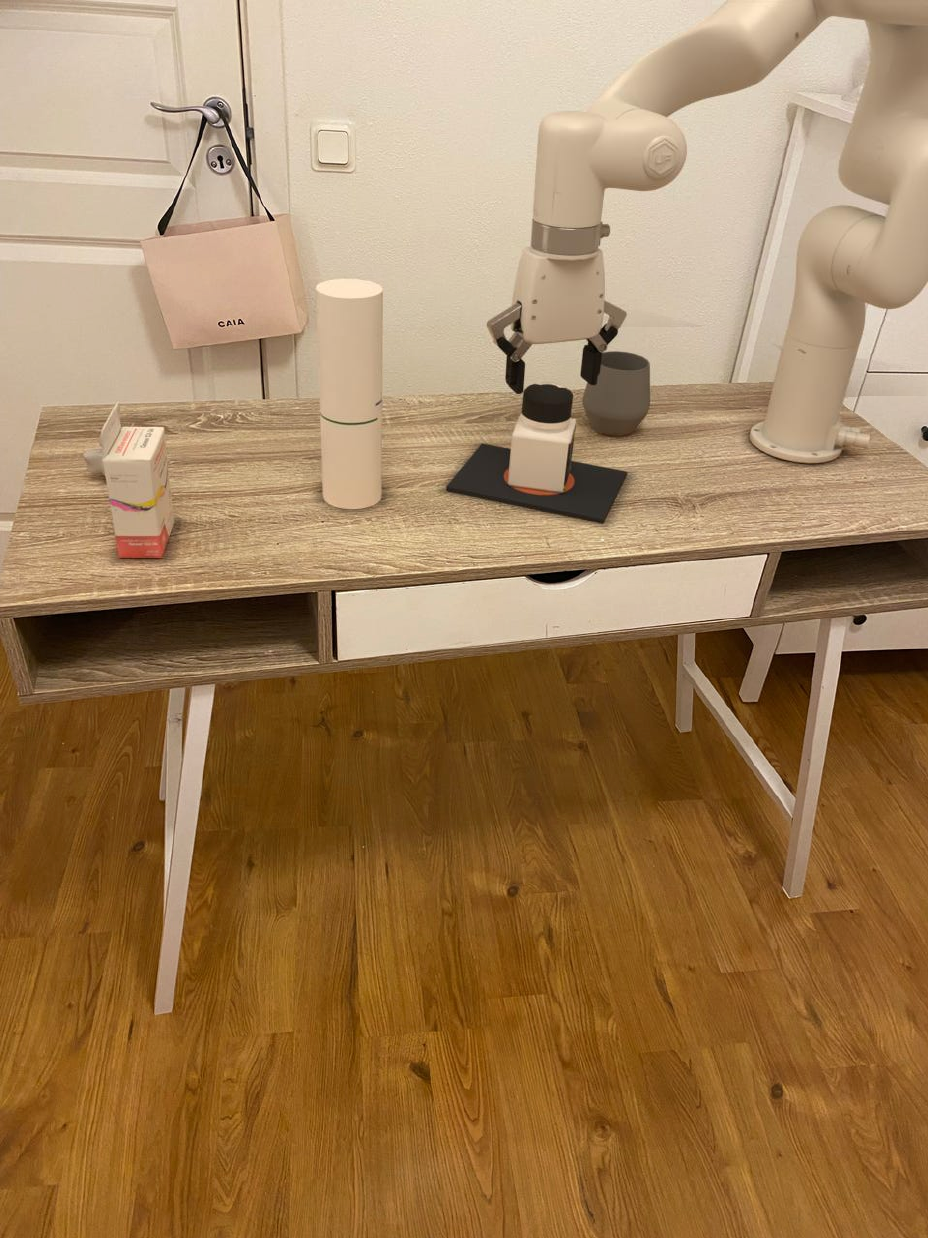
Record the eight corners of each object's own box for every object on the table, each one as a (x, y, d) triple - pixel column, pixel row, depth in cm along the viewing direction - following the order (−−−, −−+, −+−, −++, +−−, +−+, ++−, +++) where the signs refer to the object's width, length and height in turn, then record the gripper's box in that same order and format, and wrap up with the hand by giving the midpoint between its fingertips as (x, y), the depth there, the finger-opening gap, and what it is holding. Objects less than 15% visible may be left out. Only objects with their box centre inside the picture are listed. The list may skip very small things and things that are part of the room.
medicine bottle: (564, 494, 123) (575, 402, 116) (507, 486, 124) (514, 395, 117) (570, 469, 129) (581, 380, 122) (516, 462, 130) (524, 373, 123)
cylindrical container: (390, 488, 124) (392, 284, 109) (367, 513, 118) (366, 302, 104) (337, 477, 125) (333, 275, 111) (312, 502, 120) (304, 291, 106)
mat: (626, 475, 130) (627, 470, 130) (603, 523, 119) (603, 518, 119) (481, 447, 135) (481, 442, 135) (445, 490, 124) (446, 485, 124)
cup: (599, 410, 148) (609, 343, 142) (656, 427, 143) (668, 360, 138) (567, 429, 141) (575, 361, 135) (625, 448, 137) (636, 378, 131)
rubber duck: (146, 483, 121) (138, 422, 117) (89, 491, 119) (78, 429, 114) (140, 464, 125) (131, 404, 121) (85, 471, 123) (74, 410, 119)
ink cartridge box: (165, 559, 107) (147, 432, 99) (117, 559, 107) (96, 432, 99) (177, 520, 114) (161, 399, 106) (132, 520, 114) (113, 398, 106)
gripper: (618, 224, 115) (602, 367, 125) (479, 233, 110) (473, 381, 120) (650, 241, 110) (630, 389, 120) (505, 251, 104) (497, 405, 114)
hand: (552, 385), depth 120 cm, fingers open, 9 cm apart
